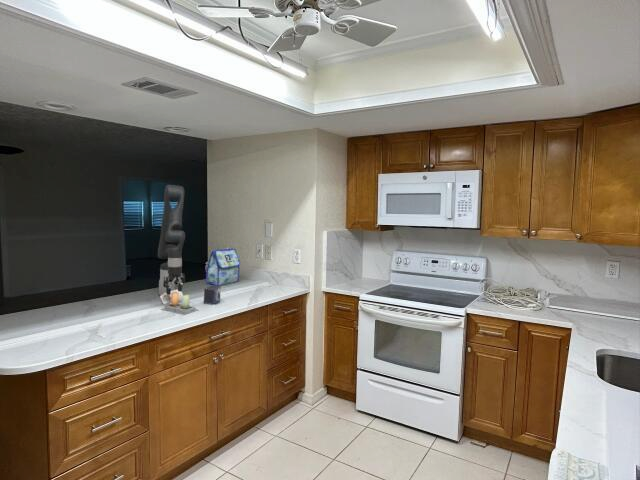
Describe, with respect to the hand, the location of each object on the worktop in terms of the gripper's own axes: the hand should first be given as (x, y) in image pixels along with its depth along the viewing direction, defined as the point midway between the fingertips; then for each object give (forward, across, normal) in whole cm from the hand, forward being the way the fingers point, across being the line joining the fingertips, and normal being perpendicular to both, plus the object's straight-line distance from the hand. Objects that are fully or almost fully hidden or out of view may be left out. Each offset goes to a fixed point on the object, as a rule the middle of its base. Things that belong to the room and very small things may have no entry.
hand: (174, 292), depth 230 cm
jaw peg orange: (+9, 0, 0) cm, 9 cm away
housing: (+10, 0, +5) cm, 11 cm away
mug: (+11, -9, -12) cm, 19 cm away
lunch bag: (+12, -73, -23) cm, 77 cm away
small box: (+11, -23, +9) cm, 27 cm away
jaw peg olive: (+9, 0, +9) cm, 13 cm away
